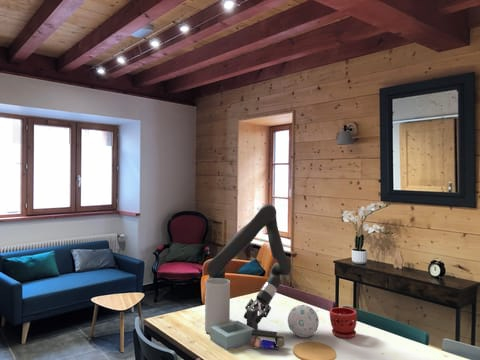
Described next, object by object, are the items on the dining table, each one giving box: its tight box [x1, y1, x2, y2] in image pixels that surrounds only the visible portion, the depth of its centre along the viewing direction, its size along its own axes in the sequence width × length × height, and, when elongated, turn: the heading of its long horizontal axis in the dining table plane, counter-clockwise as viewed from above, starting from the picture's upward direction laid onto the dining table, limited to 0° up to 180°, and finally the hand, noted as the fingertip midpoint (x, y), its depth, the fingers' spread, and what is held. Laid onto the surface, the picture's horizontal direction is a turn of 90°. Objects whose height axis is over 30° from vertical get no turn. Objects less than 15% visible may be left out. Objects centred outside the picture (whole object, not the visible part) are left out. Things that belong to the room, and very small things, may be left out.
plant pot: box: [329, 306, 358, 339], centre depth 189 cm, size 13×13×12 cm
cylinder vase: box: [204, 278, 231, 334], centre depth 193 cm, size 12×12×25 cm
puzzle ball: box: [287, 304, 320, 338], centre depth 186 cm, size 15×15×15 cm
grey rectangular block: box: [246, 307, 259, 330], centre depth 191 cm, size 6×4×11 cm, turn 131°
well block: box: [209, 320, 255, 351], centre depth 180 cm, size 14×16×6 cm
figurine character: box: [250, 329, 285, 351], centre depth 172 cm, size 7×8×15 cm
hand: (250, 320), depth 191 cm, fingers open, 8 cm apart
